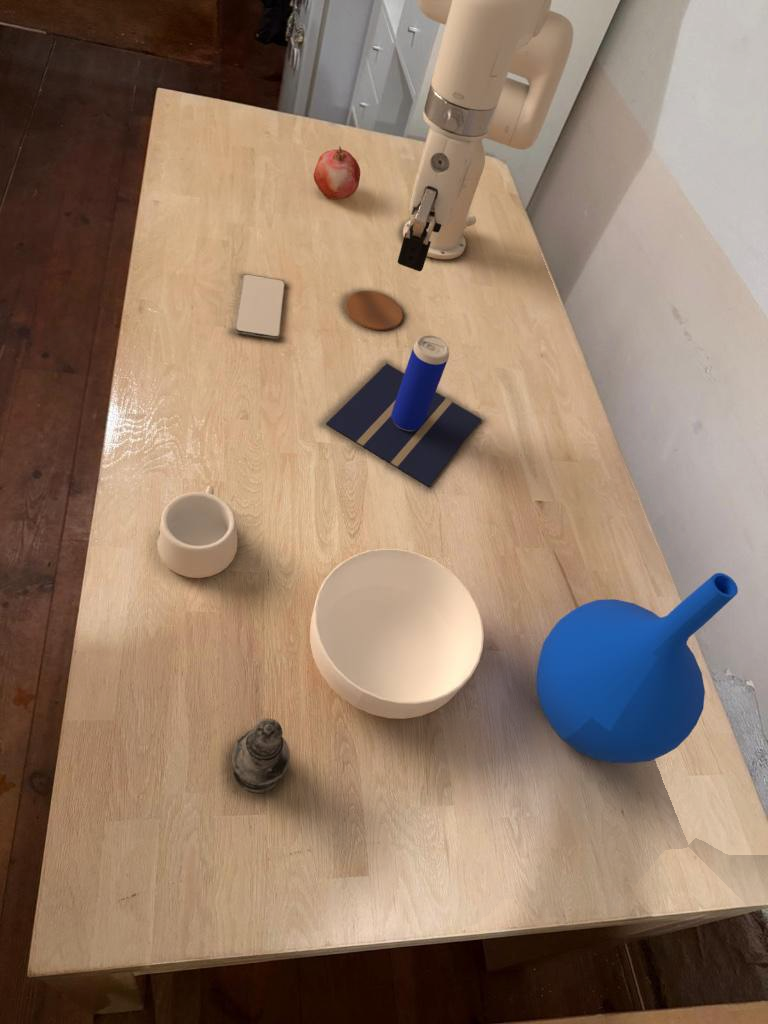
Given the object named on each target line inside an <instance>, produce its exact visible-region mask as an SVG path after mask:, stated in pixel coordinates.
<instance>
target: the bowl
mask: <svg viewBox="0 0 768 1024" xmlns="http://www.w3.org/2000/svg"><path fill="white" fill-rule="evenodd" d="M309 626H310V627H309V644H310V648H311V649H310V650H311V653H312V657H313V660H314V662H315V665H316V667H317V669H318V672H319V673H320V675H321V676H322V678H323V680H324V681H325V682H326V683H327V685H328V686H329V687H330V688H331V689H332V690H333V691H334V692H335V693H336V694H337V695H338V696H339V697H340V698H341V699H342V700H344V701H345V702H347V703H348V704H350V705H351V706H352V707H354V708H356V709H358V710H361V711H363V712H365V713H368V714H370V715H373V716H377V717H382V718H386V719H402V720H403V719H404V720H405V719H411V718H412V719H413V718H417V717H422V716H425V715H427V714H430V713H432V712H435V711H437V710H438V709H440V708H441V707H443V706H444V705H445V704H448V702H450V701H451V699H453V697H455V696H456V695H457V694H458V692H459V691H460V690H461V689H462V688H463V687H465V685H466V683H468V681H469V680H470V679H471V677H472V676H473V674H474V672H475V671H476V668H477V667H478V666H479V663H480V660H481V657H482V654H483V651H484V635H485V633H484V627H483V620H482V616H481V614H480V611H479V608H478V605H477V603H476V601H475V600H474V597H473V596H472V594H471V593H470V591H469V589H468V587H466V586H465V584H464V583H463V582H462V581H461V580H460V578H459V577H457V575H455V574H454V573H453V572H451V570H450V569H448V567H446V566H445V565H443V564H441V563H439V562H438V561H436V560H434V559H433V558H430V557H428V556H425V555H423V554H421V553H419V552H414V551H410V550H407V549H402V548H387V547H386V548H376V549H375V548H374V549H369V550H366V551H363V552H359V553H356V554H354V555H351V556H350V557H348V558H346V559H344V560H343V561H341V562H340V563H339V564H338V565H336V566H335V567H334V568H333V569H332V570H331V571H330V572H329V574H328V575H327V576H326V577H325V578H324V580H323V581H322V583H321V586H320V587H319V589H318V591H317V594H316V598H315V601H314V605H313V610H312V614H311V618H310V625H309Z"/></svg>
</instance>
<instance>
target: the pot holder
mask: <svg viewBox="0 0 768 1024" xmlns="http://www.w3.org/2000/svg"><path fill="white" fill-rule="evenodd" d="M404 374H405V372H402V371H401V370H399V369H398V368H396V367H394V366H392V365H391V364H389V363H385V365H384V366H383V367H381V368H380V369H379V371H377V372H376V373H375V374H374V375H373V376H372V377H371V378H370V379H369V380H368V381H367V382H366V383H365V384H364V385H363V386H362V387H361V388H360V389H359V390H358V391H357V392H356V393H355V394H354V395H353V396H352V397H351V398H350V399H349V400H348V401H347V402H346V403H345V404H344V405H343V406H342V407H341V408H340V409H339V410H338V411H337V412H336V413H335V414H334V415H333V416H332V417H331V418H330V419H329V420H328V421H327V422H326V423H325V425H326V426H328V427H329V428H331V429H332V430H334V431H336V432H338V433H339V434H341V435H343V436H344V437H346V438H348V439H349V440H351V441H352V442H354V443H355V444H357V445H359V446H360V447H362V448H363V449H365V450H367V451H368V452H370V453H372V454H374V455H375V456H377V457H379V458H380V459H382V460H383V461H385V462H387V463H388V464H390V465H392V466H393V467H395V468H397V469H398V470H400V471H401V472H403V473H404V474H406V475H408V476H410V477H411V478H413V480H416V481H418V482H419V483H421V484H422V485H424V486H426V487H428V488H429V487H430V486H431V484H432V483H433V482H434V480H435V479H436V478H437V477H438V475H439V474H440V473H441V472H442V470H443V469H444V468H445V467H446V465H447V464H448V462H449V461H450V460H451V459H452V458H453V456H455V454H456V453H457V451H458V450H459V449H460V447H461V446H462V445H463V444H464V442H465V441H466V440H467V438H468V437H469V436H470V435H471V433H472V432H473V431H474V430H475V428H477V426H478V424H479V423H480V422H481V421H482V418H481V417H479V416H477V415H476V414H474V413H472V412H471V411H469V410H467V409H465V408H464V407H462V406H460V405H458V404H457V403H455V402H453V401H452V400H450V399H449V398H446V397H445V396H444V395H441V394H440V393H438V392H437V391H436V392H435V395H434V397H433V400H432V403H431V405H430V408H429V410H428V413H427V416H426V418H425V421H424V424H423V425H422V427H421V428H419V429H417V430H414V431H405V430H402V429H400V428H398V427H397V426H396V425H395V423H394V422H393V420H392V417H391V413H392V410H393V407H394V404H395V401H396V398H397V395H398V392H399V389H400V386H401V383H402V380H403V377H404Z"/></svg>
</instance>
